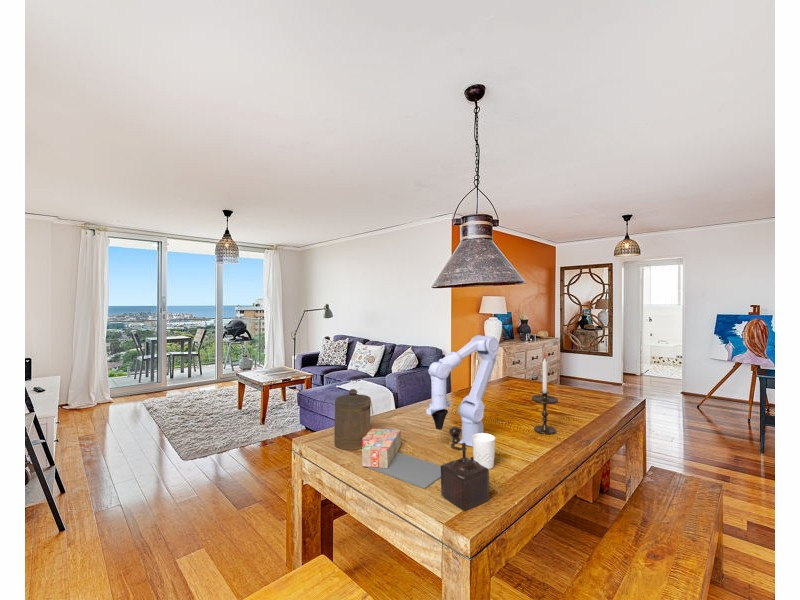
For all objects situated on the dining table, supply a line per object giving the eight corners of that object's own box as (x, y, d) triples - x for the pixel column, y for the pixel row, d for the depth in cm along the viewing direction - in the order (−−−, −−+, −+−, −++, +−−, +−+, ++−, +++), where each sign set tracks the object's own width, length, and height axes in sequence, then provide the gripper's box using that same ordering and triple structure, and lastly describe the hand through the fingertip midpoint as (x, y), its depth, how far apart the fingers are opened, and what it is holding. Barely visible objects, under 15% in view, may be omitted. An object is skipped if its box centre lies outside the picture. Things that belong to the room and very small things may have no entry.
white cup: (468, 465, 134) (467, 437, 134) (480, 458, 139) (480, 431, 139) (487, 472, 128) (487, 443, 128) (499, 465, 134) (499, 436, 134)
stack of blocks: (387, 450, 131) (353, 448, 133) (388, 468, 131) (354, 466, 133) (400, 429, 152) (370, 428, 154) (401, 444, 152) (371, 443, 154)
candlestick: (560, 436, 160) (560, 353, 160) (533, 434, 162) (533, 353, 162) (555, 427, 171) (555, 349, 170) (530, 426, 173) (529, 349, 173)
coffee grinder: (491, 499, 111) (491, 438, 111) (463, 512, 105) (463, 447, 105) (456, 478, 124) (455, 424, 124) (429, 488, 118) (429, 430, 118)
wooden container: (378, 440, 157) (377, 387, 157) (355, 453, 145) (355, 396, 145) (350, 433, 165) (350, 383, 165) (326, 445, 153) (326, 390, 153)
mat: (396, 452, 145) (396, 451, 145) (451, 470, 130) (451, 468, 130) (368, 468, 132) (367, 466, 132) (424, 489, 118) (424, 487, 118)
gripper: (440, 388, 155) (440, 421, 155) (419, 396, 143) (419, 431, 143) (455, 391, 150) (455, 425, 151) (435, 399, 139) (435, 436, 139)
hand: (439, 428), depth 147 cm, fingers closed
